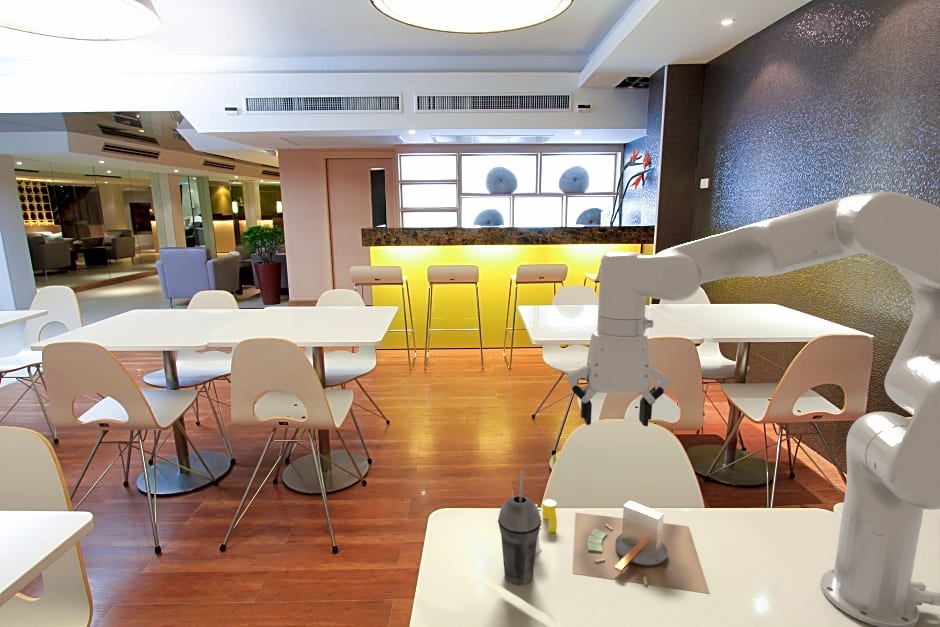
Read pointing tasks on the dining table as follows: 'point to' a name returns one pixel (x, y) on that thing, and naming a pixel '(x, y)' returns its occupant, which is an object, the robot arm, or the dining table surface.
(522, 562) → the beverage cup
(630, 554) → the dial
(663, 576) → the board
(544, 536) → the dining table surface
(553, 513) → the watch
